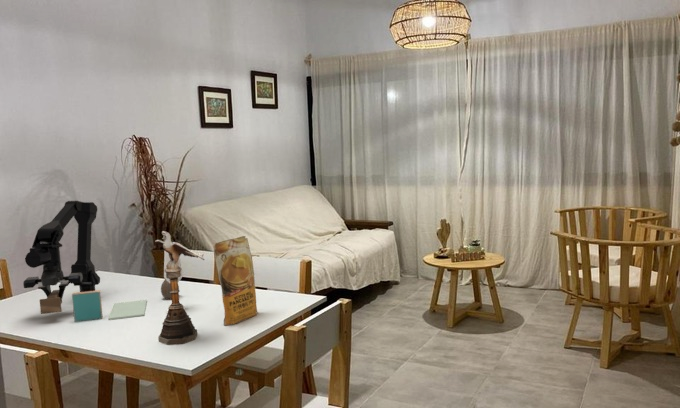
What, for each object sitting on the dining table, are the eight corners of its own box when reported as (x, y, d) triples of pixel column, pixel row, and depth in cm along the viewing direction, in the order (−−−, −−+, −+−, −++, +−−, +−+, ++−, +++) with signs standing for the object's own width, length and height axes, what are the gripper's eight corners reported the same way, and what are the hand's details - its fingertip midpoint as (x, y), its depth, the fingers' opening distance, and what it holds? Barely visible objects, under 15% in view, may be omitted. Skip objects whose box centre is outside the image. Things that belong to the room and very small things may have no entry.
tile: (75, 320, 198) (72, 292, 197) (102, 317, 201) (100, 290, 200) (74, 322, 196) (71, 294, 195) (101, 318, 199) (99, 291, 198)
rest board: (114, 304, 216) (114, 303, 216) (146, 301, 219) (146, 299, 219) (108, 320, 197) (108, 318, 197) (144, 315, 200) (144, 314, 200)
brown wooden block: (49, 303, 207) (47, 290, 207) (67, 301, 209) (66, 288, 208) (40, 314, 195) (39, 300, 194) (61, 311, 196) (59, 298, 196)
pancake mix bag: (211, 325, 187) (206, 243, 184) (250, 309, 203) (246, 234, 199) (226, 328, 183) (220, 244, 180) (264, 312, 199) (260, 235, 196)
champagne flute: (180, 312, 202) (175, 247, 199) (163, 312, 203) (158, 247, 201) (188, 307, 209) (184, 244, 206) (172, 306, 210) (167, 244, 207)
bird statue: (191, 324, 189) (183, 222, 185) (216, 331, 181) (209, 224, 177) (148, 339, 176) (139, 230, 172) (173, 347, 168) (164, 233, 164)
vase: (161, 301, 218) (159, 279, 217) (161, 296, 225) (160, 275, 224) (179, 299, 220) (177, 277, 219) (179, 294, 227) (178, 273, 226)
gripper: (17, 268, 192) (21, 312, 194) (76, 263, 197) (80, 305, 199) (25, 262, 203) (29, 303, 205) (81, 257, 208) (84, 297, 210)
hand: (56, 302), depth 204 cm, fingers closed on brown wooden block, 3 cm apart
